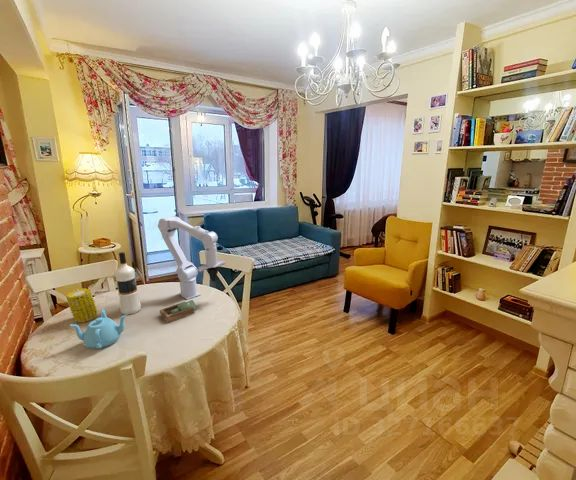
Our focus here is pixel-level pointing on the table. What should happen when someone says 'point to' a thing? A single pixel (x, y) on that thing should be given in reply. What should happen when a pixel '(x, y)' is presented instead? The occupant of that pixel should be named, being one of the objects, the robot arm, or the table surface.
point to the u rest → (177, 315)
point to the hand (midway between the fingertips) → (213, 280)
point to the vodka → (127, 287)
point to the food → (82, 305)
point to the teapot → (100, 331)
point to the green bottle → (184, 306)
